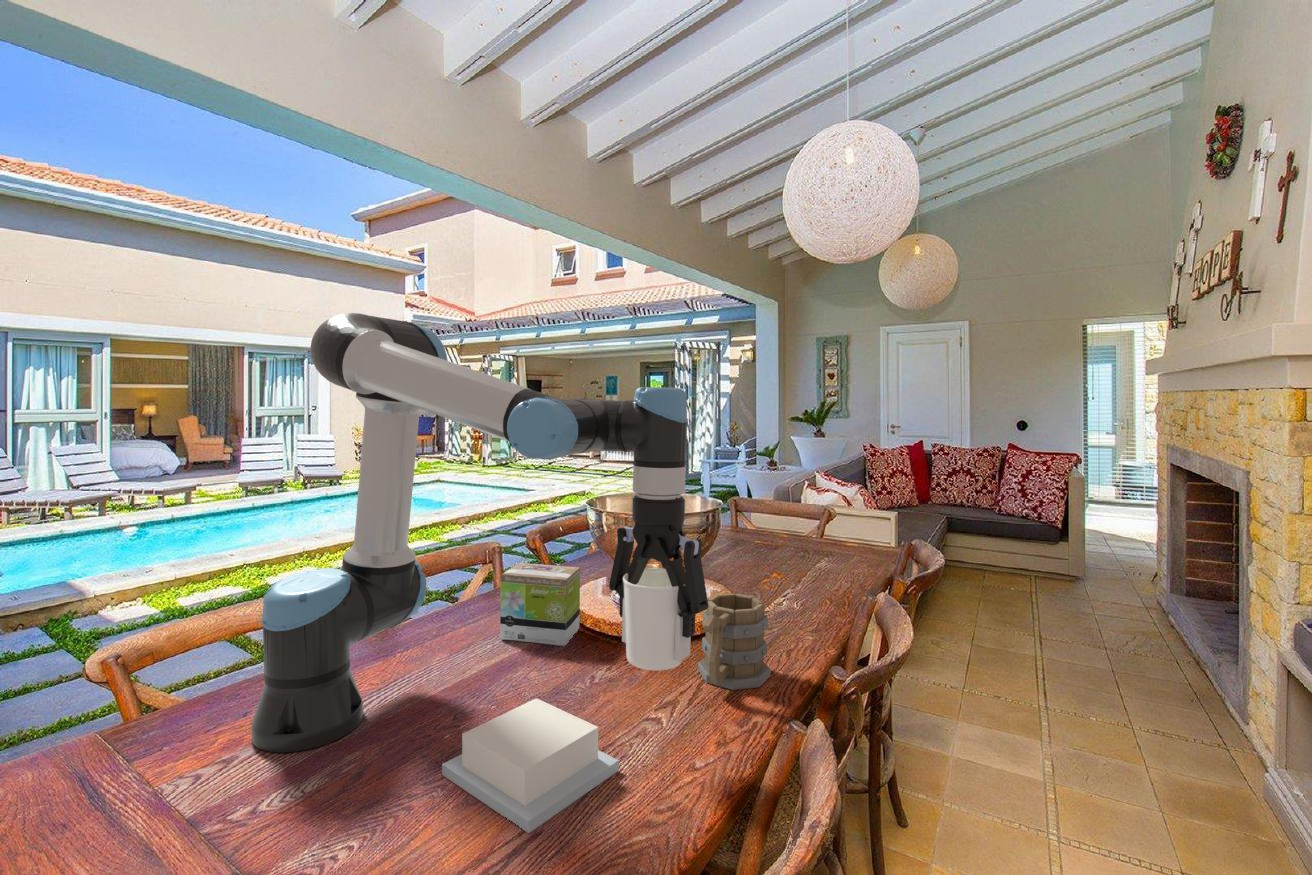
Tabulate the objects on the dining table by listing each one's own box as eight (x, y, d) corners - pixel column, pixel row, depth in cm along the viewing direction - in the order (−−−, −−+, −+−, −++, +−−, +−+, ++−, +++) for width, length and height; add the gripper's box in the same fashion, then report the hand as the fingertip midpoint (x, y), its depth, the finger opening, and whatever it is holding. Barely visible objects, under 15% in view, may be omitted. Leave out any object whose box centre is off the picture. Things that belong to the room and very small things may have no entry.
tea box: (498, 641, 130) (498, 573, 129) (517, 624, 140) (517, 561, 139) (566, 647, 127) (566, 577, 126) (580, 630, 137) (581, 565, 136)
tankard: (717, 655, 124) (719, 582, 123) (777, 669, 118) (779, 593, 117) (669, 694, 107) (670, 610, 106) (735, 714, 101) (737, 625, 100)
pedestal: (442, 774, 83) (441, 731, 83) (533, 726, 96) (533, 689, 95) (528, 833, 72) (528, 784, 72) (618, 770, 85) (619, 728, 84)
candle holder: (650, 639, 96) (652, 564, 95) (701, 657, 90) (704, 577, 89) (607, 659, 88) (608, 577, 87) (659, 680, 82) (661, 592, 81)
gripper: (738, 501, 84) (733, 660, 85) (619, 484, 97) (616, 622, 98) (708, 507, 78) (703, 679, 79) (586, 489, 91) (583, 636, 93)
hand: (655, 648), depth 89 cm, fingers closed on candle holder, 9 cm apart
